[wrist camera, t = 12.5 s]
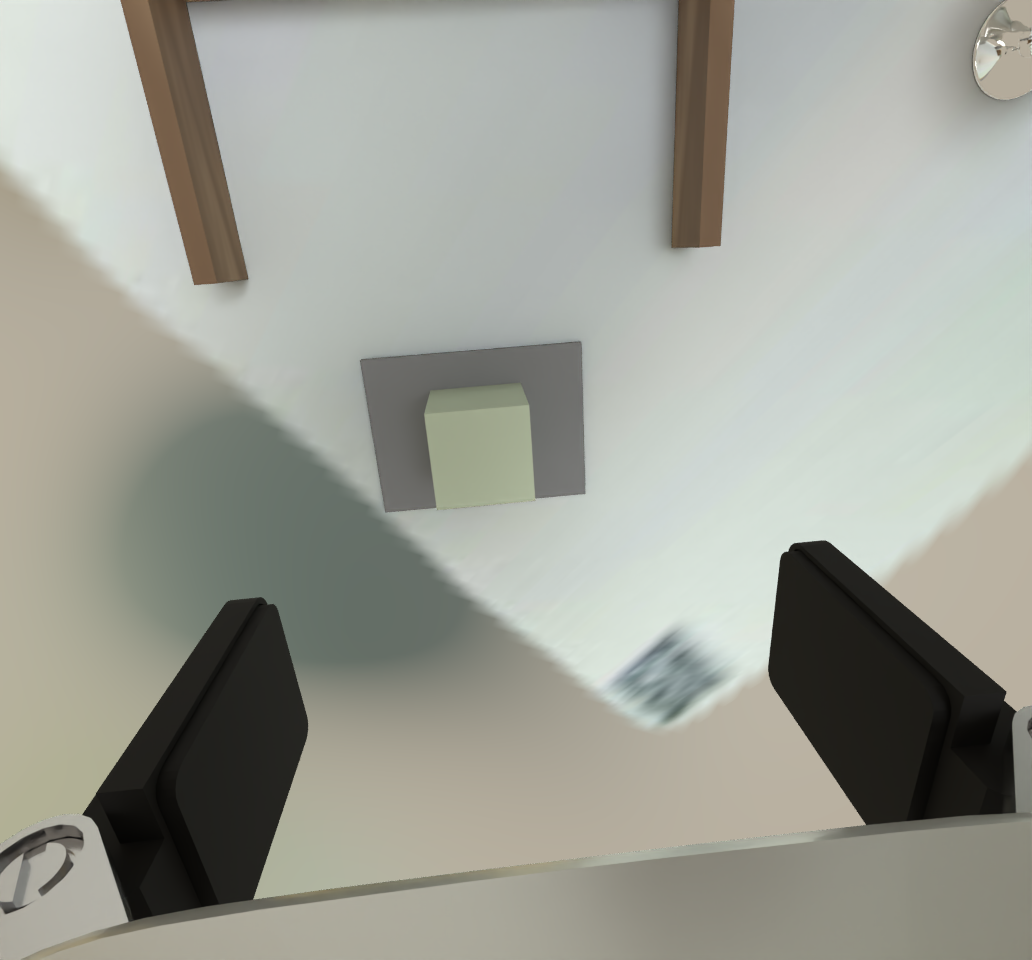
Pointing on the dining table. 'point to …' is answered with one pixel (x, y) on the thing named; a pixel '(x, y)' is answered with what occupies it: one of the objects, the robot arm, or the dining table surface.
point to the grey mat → (539, 368)
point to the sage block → (480, 446)
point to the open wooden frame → (200, 175)
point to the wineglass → (1005, 51)
